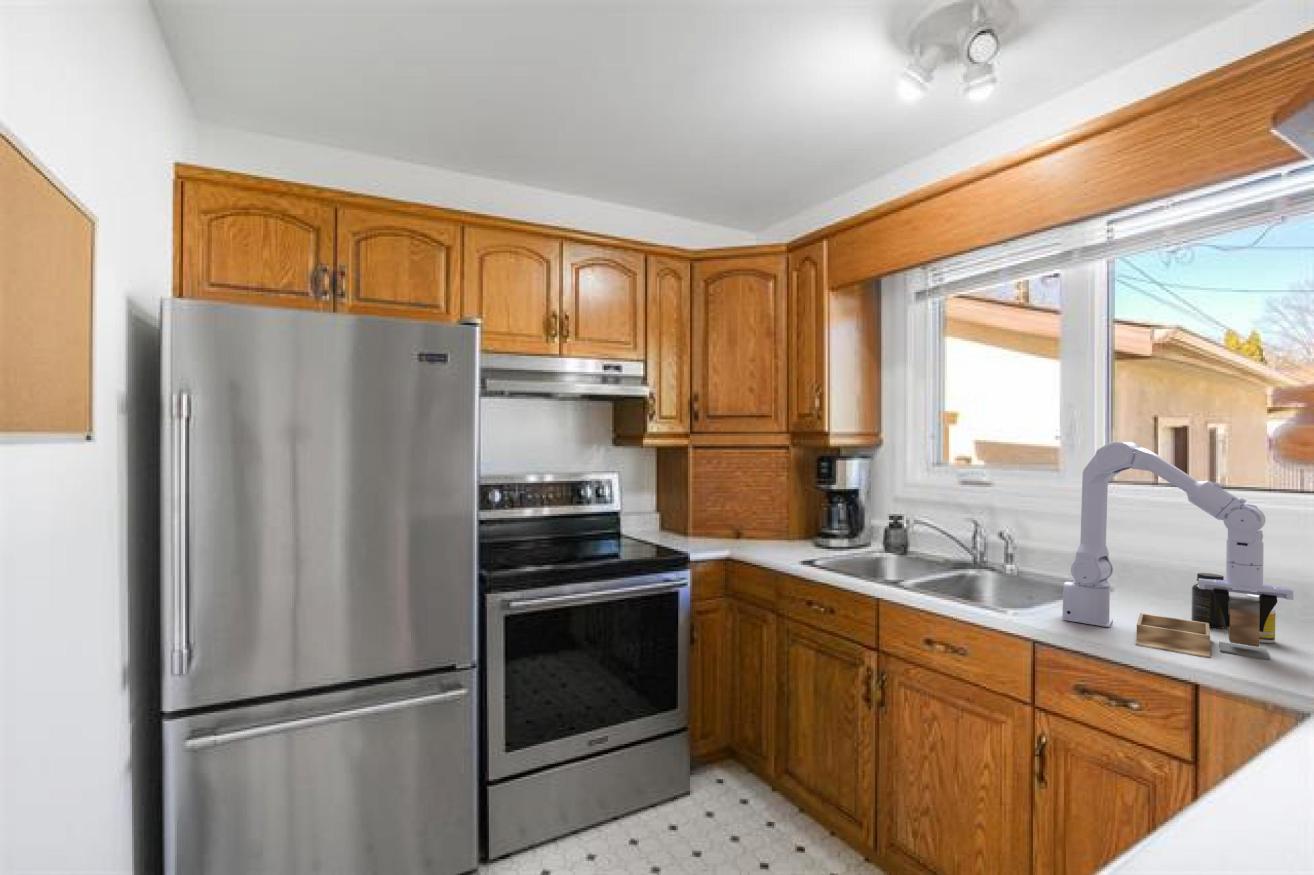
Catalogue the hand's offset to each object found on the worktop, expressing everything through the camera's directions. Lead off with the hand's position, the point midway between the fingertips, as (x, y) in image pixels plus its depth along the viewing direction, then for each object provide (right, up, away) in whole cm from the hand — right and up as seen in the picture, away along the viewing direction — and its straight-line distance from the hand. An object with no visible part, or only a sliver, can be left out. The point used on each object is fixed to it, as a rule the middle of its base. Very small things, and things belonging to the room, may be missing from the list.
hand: (1243, 628), depth 134 cm
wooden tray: (-9, -5, +7) cm, 12 cm away
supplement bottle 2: (+11, -5, +8) cm, 14 cm away
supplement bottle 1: (+10, -5, +19) cm, 22 cm away
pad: (0, -5, 0) cm, 5 cm away
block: (0, -3, 0) cm, 3 cm away
